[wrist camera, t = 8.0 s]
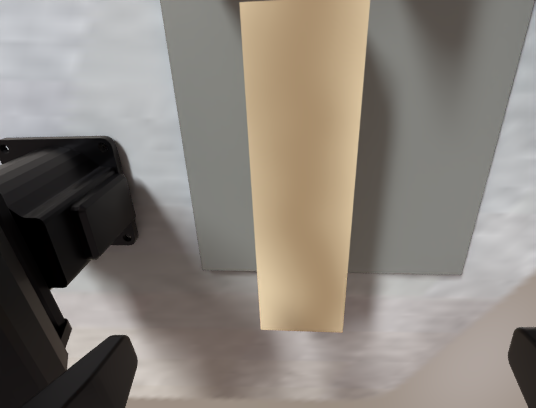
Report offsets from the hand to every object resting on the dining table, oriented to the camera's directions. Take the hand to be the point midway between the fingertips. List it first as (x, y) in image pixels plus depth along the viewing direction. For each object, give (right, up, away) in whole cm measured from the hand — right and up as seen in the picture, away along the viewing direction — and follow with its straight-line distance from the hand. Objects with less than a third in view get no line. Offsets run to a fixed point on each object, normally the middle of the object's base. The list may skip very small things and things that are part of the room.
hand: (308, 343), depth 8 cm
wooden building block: (+1, +5, +9) cm, 10 cm away
